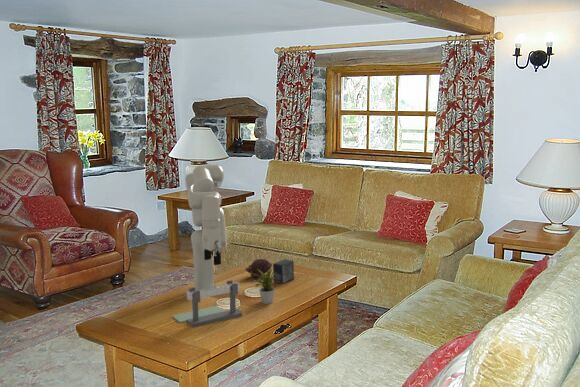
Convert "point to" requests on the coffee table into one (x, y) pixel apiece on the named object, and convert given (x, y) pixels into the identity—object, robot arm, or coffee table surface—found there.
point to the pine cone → (259, 267)
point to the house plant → (266, 287)
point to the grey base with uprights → (217, 316)
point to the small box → (283, 271)
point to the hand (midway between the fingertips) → (212, 262)
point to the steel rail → (212, 291)
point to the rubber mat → (199, 313)
